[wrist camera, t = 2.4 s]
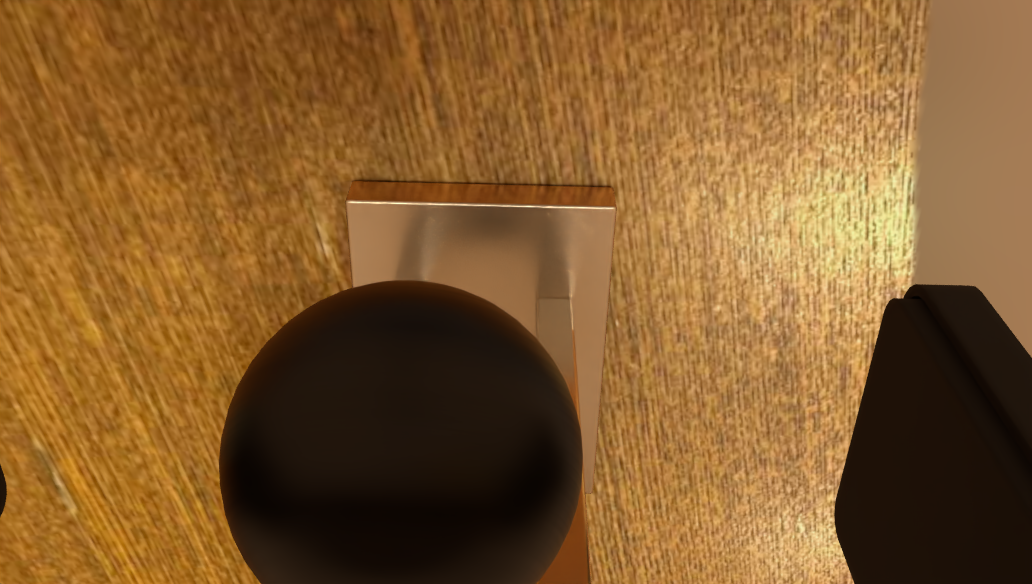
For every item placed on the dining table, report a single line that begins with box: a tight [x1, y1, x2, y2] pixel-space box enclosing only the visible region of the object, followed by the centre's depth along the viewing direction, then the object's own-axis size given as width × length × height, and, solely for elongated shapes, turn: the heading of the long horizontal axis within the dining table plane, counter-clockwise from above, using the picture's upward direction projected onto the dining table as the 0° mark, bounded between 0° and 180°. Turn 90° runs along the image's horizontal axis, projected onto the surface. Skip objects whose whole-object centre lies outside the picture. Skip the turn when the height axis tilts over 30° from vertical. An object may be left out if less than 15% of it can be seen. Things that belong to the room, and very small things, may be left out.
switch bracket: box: [345, 181, 617, 584], centre depth 23 cm, size 10×7×13 cm
